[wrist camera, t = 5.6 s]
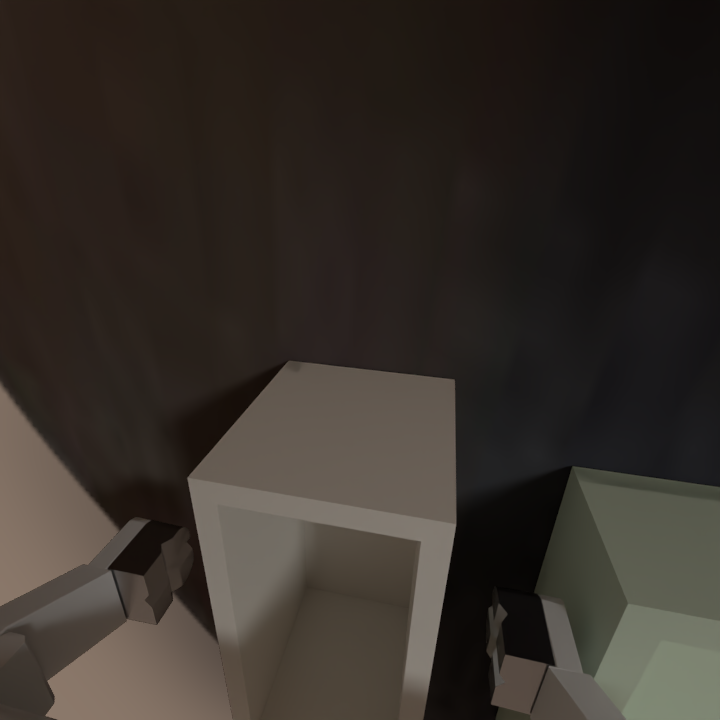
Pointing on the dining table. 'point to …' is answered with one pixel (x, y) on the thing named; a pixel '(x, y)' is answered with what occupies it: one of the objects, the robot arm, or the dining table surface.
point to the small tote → (330, 542)
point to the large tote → (640, 591)
